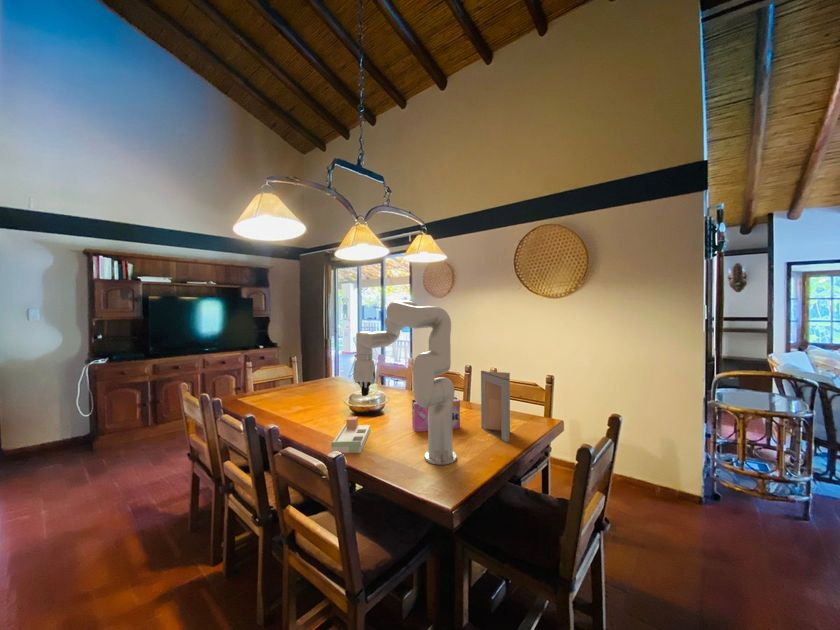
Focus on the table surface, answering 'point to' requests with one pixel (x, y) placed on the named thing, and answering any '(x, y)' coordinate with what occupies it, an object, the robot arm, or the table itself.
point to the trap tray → (350, 439)
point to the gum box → (422, 416)
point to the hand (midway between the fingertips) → (365, 395)
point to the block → (352, 422)
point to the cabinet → (496, 404)
